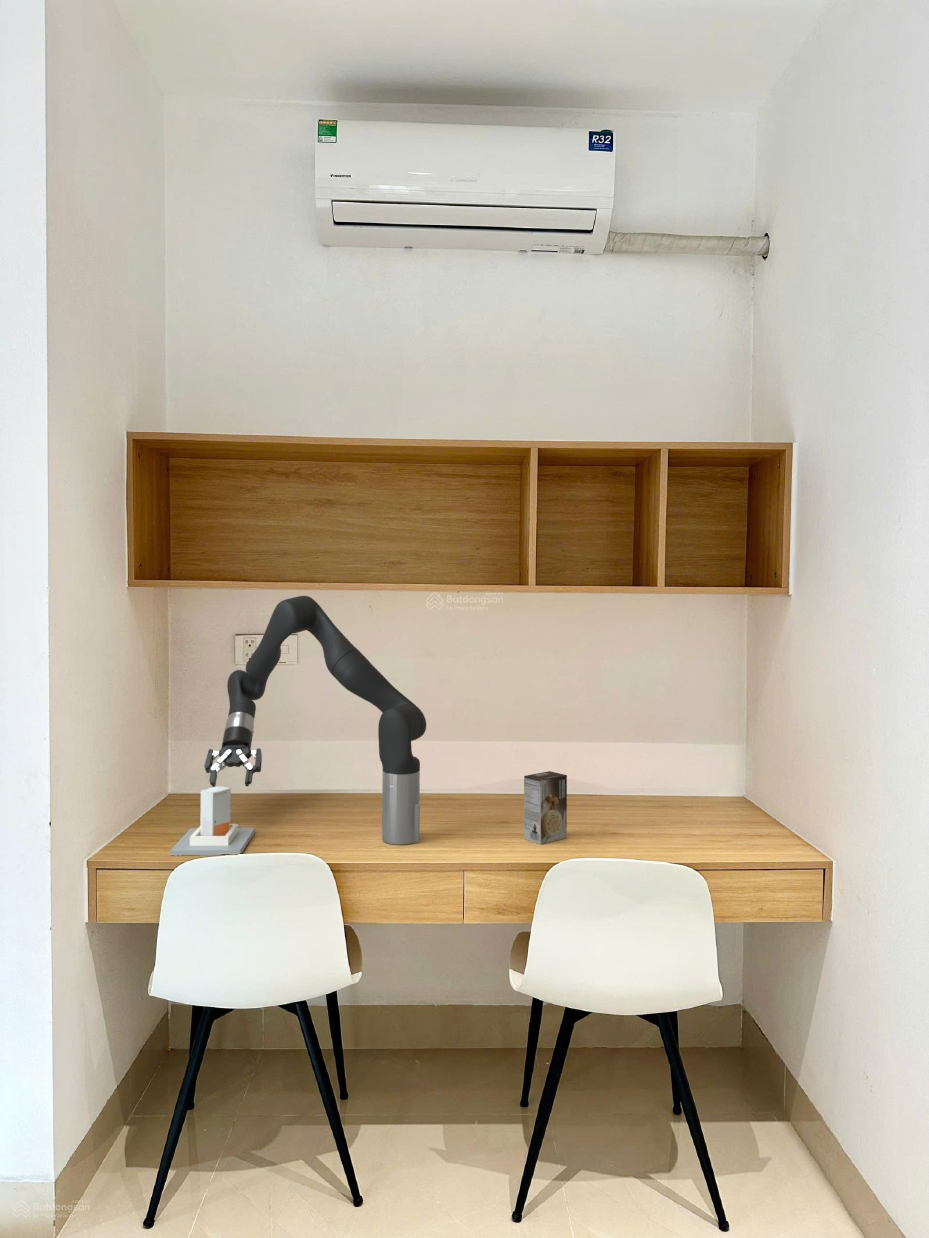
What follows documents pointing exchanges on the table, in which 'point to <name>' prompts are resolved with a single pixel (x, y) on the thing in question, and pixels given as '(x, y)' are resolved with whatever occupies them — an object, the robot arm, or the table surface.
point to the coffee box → (545, 807)
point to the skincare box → (215, 811)
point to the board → (213, 842)
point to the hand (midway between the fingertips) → (229, 784)
